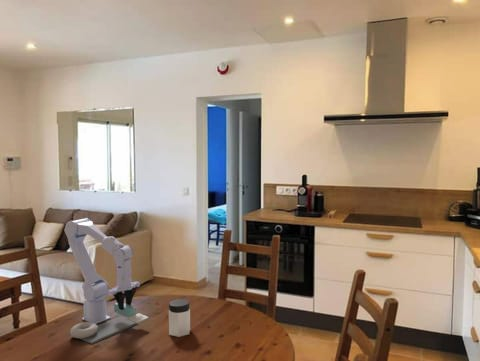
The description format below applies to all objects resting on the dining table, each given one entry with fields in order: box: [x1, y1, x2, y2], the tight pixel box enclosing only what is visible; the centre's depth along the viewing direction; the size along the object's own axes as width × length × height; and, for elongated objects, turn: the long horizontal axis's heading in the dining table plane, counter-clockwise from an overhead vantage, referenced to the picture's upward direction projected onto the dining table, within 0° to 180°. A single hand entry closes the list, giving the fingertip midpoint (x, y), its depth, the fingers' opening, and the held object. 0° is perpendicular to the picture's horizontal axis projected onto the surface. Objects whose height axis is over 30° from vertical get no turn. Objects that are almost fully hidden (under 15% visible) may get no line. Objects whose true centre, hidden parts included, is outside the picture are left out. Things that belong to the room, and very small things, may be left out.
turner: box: [113, 302, 150, 325], centre depth 162 cm, size 16×6×4 cm, turn 55°
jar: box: [168, 298, 191, 338], centre depth 156 cm, size 9×8×12 cm
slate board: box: [78, 315, 139, 345], centre depth 159 cm, size 11×22×1 cm, turn 145°
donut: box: [69, 321, 98, 339], centre depth 153 cm, size 10×4×10 cm
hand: (124, 307), depth 163 cm, fingers closed on turner, 3 cm apart
